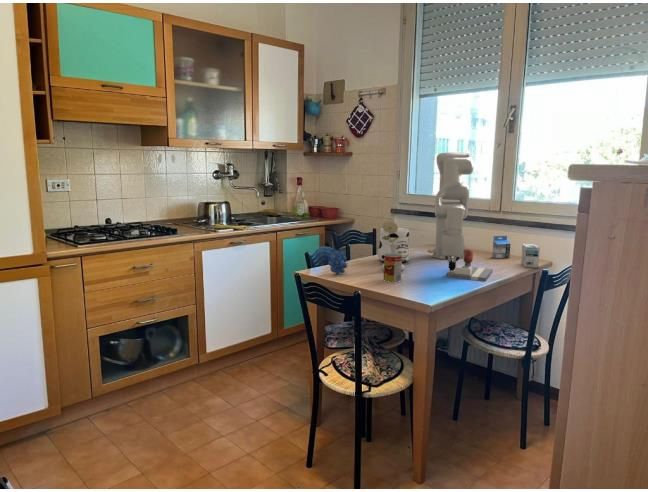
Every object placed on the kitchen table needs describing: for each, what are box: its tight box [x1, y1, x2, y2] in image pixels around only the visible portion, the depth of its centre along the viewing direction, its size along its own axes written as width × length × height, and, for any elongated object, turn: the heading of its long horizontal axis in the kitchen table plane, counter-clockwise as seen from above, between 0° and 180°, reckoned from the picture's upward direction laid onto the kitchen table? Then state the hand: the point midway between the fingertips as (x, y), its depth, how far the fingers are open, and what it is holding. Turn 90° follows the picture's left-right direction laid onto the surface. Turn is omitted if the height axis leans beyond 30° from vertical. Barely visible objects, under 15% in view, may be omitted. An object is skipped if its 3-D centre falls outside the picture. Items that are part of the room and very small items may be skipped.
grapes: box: [328, 250, 348, 275], centre depth 224 cm, size 12×7×12 cm, turn 133°
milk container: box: [377, 226, 411, 264], centre depth 253 cm, size 17×17×18 cm
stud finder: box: [455, 264, 473, 275], centre depth 222 cm, size 7×5×3 cm
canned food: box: [383, 253, 403, 283], centre depth 214 cm, size 8×8×12 cm
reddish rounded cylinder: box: [463, 248, 474, 267], centre depth 242 cm, size 4×4×9 cm
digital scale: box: [445, 264, 493, 282], centre depth 227 cm, size 18×20×2 cm
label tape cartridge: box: [491, 235, 511, 260], centre depth 265 cm, size 9×4×12 cm, turn 104°
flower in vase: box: [381, 220, 405, 272], centre depth 233 cm, size 13×11×25 cm
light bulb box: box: [520, 243, 541, 269], centre depth 246 cm, size 11×7×11 cm, turn 168°
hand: (452, 269), depth 225 cm, fingers closed
